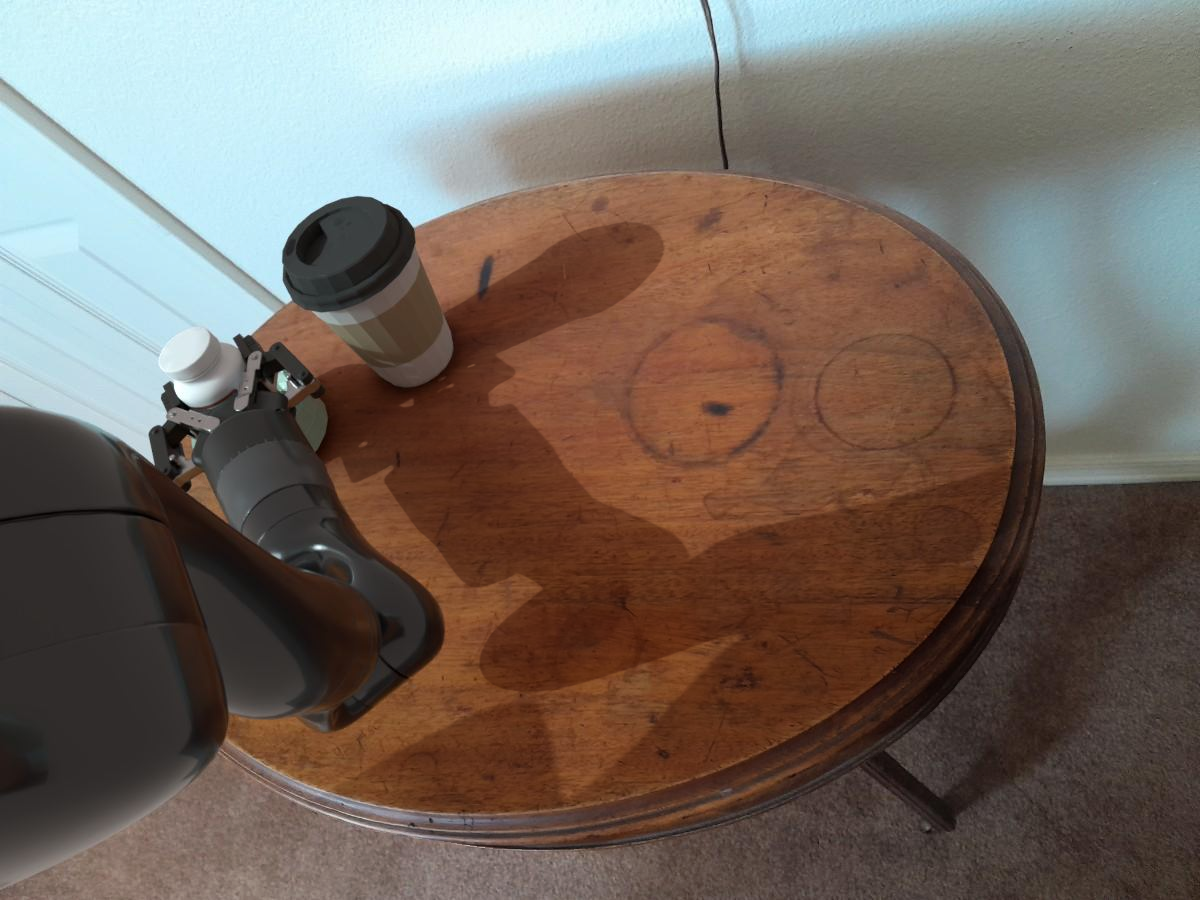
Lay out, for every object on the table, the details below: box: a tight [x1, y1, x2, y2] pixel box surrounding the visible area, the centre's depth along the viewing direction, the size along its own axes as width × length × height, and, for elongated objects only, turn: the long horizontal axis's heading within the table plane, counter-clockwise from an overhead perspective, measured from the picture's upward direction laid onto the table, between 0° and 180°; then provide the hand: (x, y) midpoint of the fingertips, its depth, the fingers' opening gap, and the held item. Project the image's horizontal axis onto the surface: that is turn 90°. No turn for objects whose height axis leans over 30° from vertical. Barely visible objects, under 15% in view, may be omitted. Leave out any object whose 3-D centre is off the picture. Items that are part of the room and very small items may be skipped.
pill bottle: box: [158, 326, 281, 416], centre depth 72 cm, size 6×6×11 cm
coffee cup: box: [281, 195, 454, 388], centre depth 73 cm, size 11×11×15 cm
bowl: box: [190, 370, 329, 453], centre depth 76 cm, size 11×11×4 cm
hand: (208, 366), depth 72 cm, fingers closed on pill bottle, 6 cm apart
